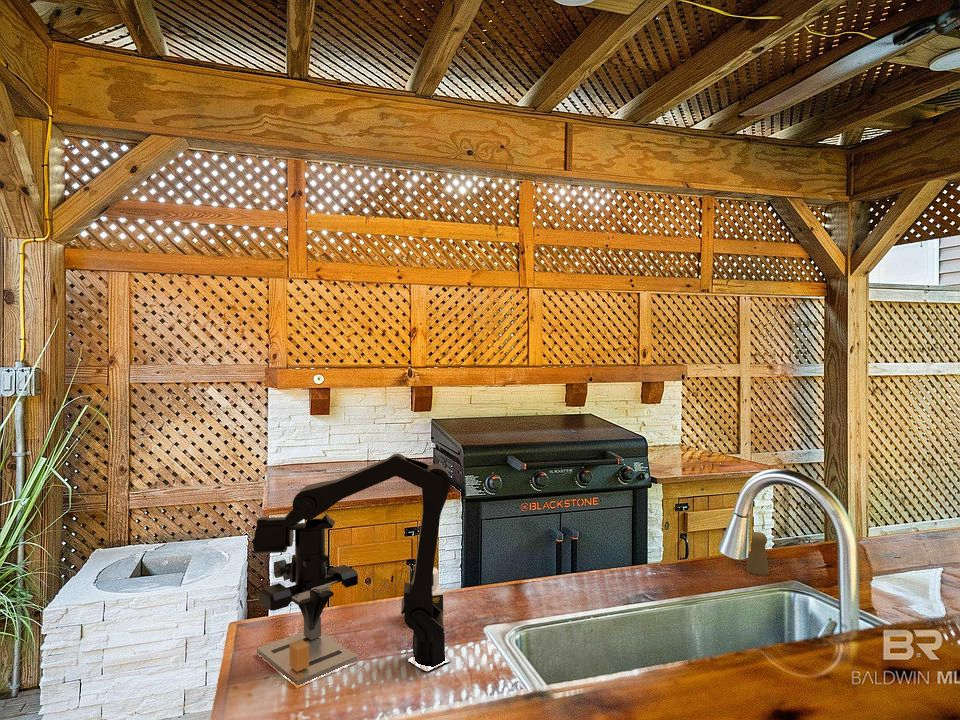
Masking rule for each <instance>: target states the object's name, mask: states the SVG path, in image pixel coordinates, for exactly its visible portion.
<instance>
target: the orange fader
mask: <svg viewBox="0 0 960 720" xmlns="http://www.w3.org/2000/svg"><path fill="white" fill-rule="evenodd" d="M290 667H291V668H293V669H294V670H295V671H296V672H298V671H300V670H303V669H305V668H308V667H309V644H308V643H306V642H305V641H304V640H302V639H300V640H298V641H295V642H292V643H290Z"/></svg>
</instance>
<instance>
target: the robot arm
mask: <svg viewBox="0 0 960 720" xmlns="http://www.w3.org/2000/svg"><path fill="white" fill-rule="evenodd" d="M395 477H398V478H400V479H402V480H404V481H406V482H408V483H410V484H411V485H414V486H416V487H418V488H421V496H422V497H421V499H422V500H421V501H422V513H421V521H420V528H419V535H418V542H417V550H416V557H415V565H414V569H415V572H414V577H413V576H412V578H411V579H412V580H411V582H410V583H409V582H404V584H403V597H402V599H401V607H400V608H401V609H400V614H401V615H404V618H403V619H404V624H405V625H406V626H407V627H408V628H409V629H411V630H412V631H413V634H412V655H413V656H414V657H415V661H416V662H417V663H418V664H421V665H425V666H431V667H434V666H436V665H438V664H440V663H442V662H443V661H445V655H446V648H445V647H446V643H445V642H446V635H445V628H444V622H443V617H444V616H443V617H442V611H441V610H440V609H439V608H437V607H436V606H435V605H434V604H433V598H432V576H433V568H434V567H435V559H436V551H437V545H438V537H439V529H440V520H441V514H442V511H443V509H444V507H445V504H446V502H447V498H448V495H449V492H450V489H451V485H452V484H451V478H450V475H449V471H448V470H447V468H446V467H445V466H443V465H442V464H439V463H432V464H427V463H425V462H422V461H420V460H416V459H413V458H409V457H407V456H405V455H403V454H401V453H393V454H392V455H390V456H389V457H387V458H385V459H382V460H380V461H378V462H375V463H372V464H370V465H368V466H366V467H363V468H361V469H357V470H356V471H354V472H352V473H350V474H347V475H344V476H342V477H340V478H336V479H333V480H325V481H324V480H323V481H320V482H315V483H311V484H307V485H305V486H304V487H302V489H300V491H299V492H298V493H296V495H294V498H293V499H292V504H291V505H292V509H291V510H290V511H289V512H287V514H286V515H285V516H284V517H282V516H281V517H267V516H260V517H258V519H257V520H256V528H255V531H254V538H253V539H252V540H253V541H252V546H253V552H254V554H255V555H257V554H276V553H277V554H278V553H286V552H287V551H288V548H289V547H293V545H294V548H295V549H294V553H295V554H292V557H291V562H288V563H287V561H286V559H280V560H276V561H274V562H273V574H274V575H273V576H274V577H275V578H276V579H279V578H282V577H283V578H282V579H283V581H287V580H288V581H289V582H290V583H295V584H294V585H290V586H287V587H286V586H285V585H283V584H281V583H275V584H272V585H268V586H265V587H262V588H261V590H260V592H259V593H258V604H260V605H262V606H263V607H264V608H266V609H268V610H269V611H273V612H274V611H277V610H282V609H285V608H287V607H289V606H290V604H291V603H294V604H295V605H297V606H298V607H299V609H300V612H301V615H302V617H303V621H304V620H305V622H306V625H307V628H308V630H310V631H312V630H314V629H315V627H316V624H317V622H318V620H319V618H320V617H321V615H322V614H323V613H322V612H323V611H324V609H325V607H326V606H327V603H328V602H329V601H330V598H332V597H334V594H335V593H334V591H332V590H331V586H332V585H335V584H339V583H341V585H342V586H343V587H344V588H347V589H348V588H350V587H353V586H356V585H358V584H359V574H358V571H357V570H355V568H352V567H350V566H347V565H345V564H342V565H338V566H335V567H331V568H329V569H328V571H327V575H326V562H327V563H328V562H329V558H330V557H329V555H327V554H326V529H327V530H328V529H329V530H330V529H333V528H334V526H335V524H336V521H335V520H334V519H332V518H331V517H330V516H329V514H328V513H325V514H324V515H323V517H321V518H320V517H318V516H319V515H321V514H323V513H324V512H326V511H327V510H329V509H330V508H332V507H333V506H334V505H336V504H337V503H338V502H340V501H342V500H343V499H345V498H347V497H351V496H353V495H354V494H357V493H359V492H361V491H365V490H366V489H370V488H371V487H373V486H377V485H378V484H380V483H383V482H385V481H387V480H390V479H392V478H395ZM317 517H318V518H317ZM303 520H305V522H302V521H303Z"/></svg>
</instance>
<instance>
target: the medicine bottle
mask: <svg viewBox="0 0 960 720" xmlns="http://www.w3.org/2000/svg"><path fill="white" fill-rule="evenodd" d="M414 572H415V568H414V569H413V571H412V578H413V577H414ZM432 598H433V604H434V605H435V606H436V607H437V608H439V609H440V610H441V611H442V617H443V621H444V592H443V590H442V589H441V587H440V584H439V570H438V569H437V567H435V566H434V568H433V576H432Z"/></svg>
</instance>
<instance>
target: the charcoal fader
mask: <svg viewBox="0 0 960 720" xmlns="http://www.w3.org/2000/svg"><path fill="white" fill-rule="evenodd" d="M303 631H304V636H305V637H307V638H308V639H310V640H312V639H315V638H318V637H320V636H321V632H322V617H321V616H320V618H319V620H318V622H317V624H316V627H315V629H314V630H312V631H310V630H308V628H307V625H306V622H305V620H304V619H303Z"/></svg>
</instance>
